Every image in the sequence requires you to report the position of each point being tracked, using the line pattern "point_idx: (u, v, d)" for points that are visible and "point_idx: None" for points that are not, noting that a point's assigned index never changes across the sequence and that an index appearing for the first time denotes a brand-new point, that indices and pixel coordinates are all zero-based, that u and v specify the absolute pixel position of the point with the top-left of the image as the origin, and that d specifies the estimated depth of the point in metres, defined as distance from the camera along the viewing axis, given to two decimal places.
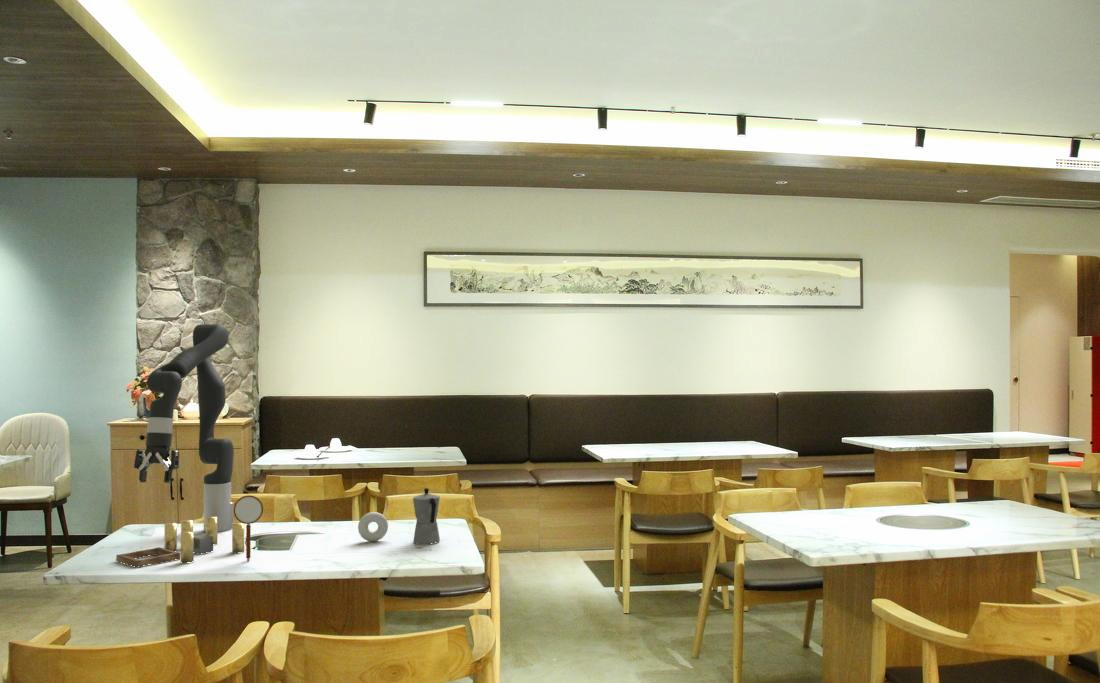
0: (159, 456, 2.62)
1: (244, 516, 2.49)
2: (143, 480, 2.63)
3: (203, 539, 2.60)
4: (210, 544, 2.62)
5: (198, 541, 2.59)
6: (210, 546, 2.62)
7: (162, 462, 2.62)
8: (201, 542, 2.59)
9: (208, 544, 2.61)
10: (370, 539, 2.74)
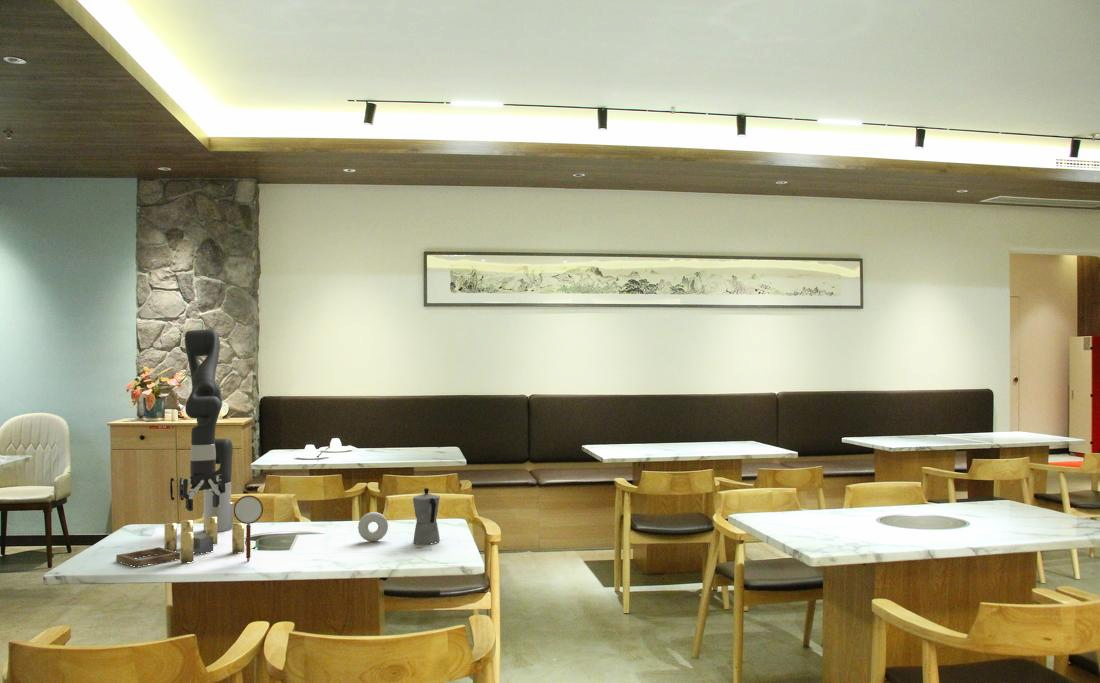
0: (211, 482, 2.63)
1: (244, 516, 2.49)
2: None
3: (203, 539, 2.60)
4: (210, 544, 2.62)
5: (198, 541, 2.59)
6: (210, 546, 2.62)
7: (215, 488, 2.64)
8: (202, 542, 2.59)
9: (208, 544, 2.61)
10: (370, 539, 2.74)
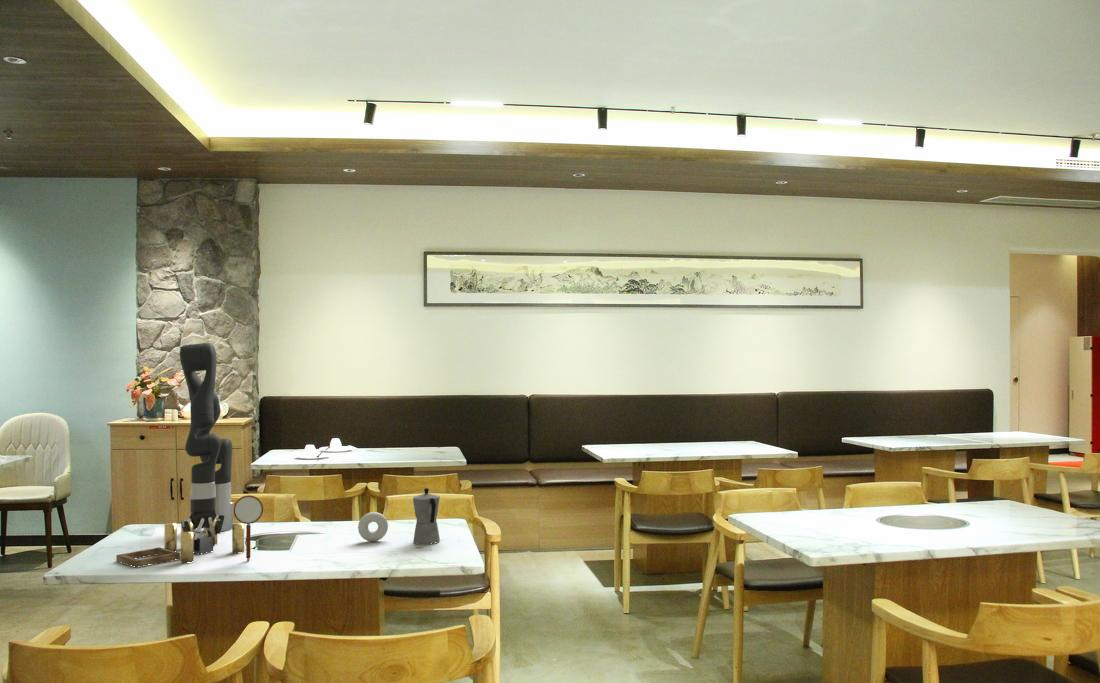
0: (211, 521, 2.62)
1: (244, 516, 2.49)
2: None
3: (203, 539, 2.60)
4: (210, 543, 2.62)
5: (198, 541, 2.59)
6: (210, 546, 2.62)
7: (212, 528, 2.63)
8: (202, 541, 2.59)
9: (208, 543, 2.61)
10: (370, 539, 2.74)
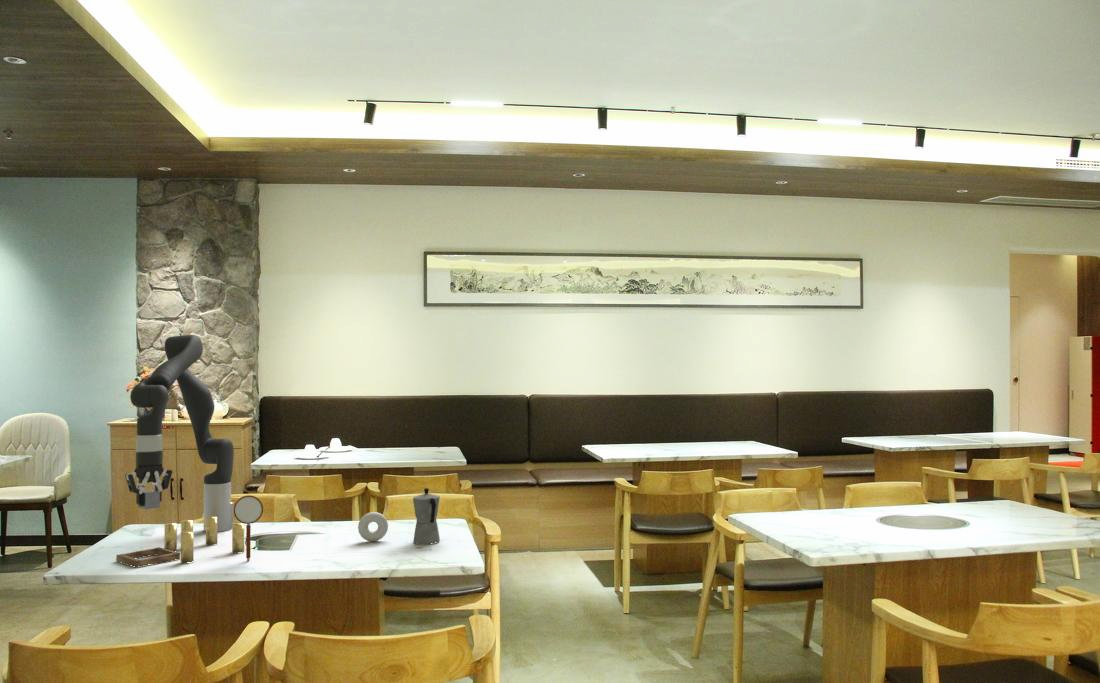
0: (157, 475, 2.52)
1: (244, 516, 2.49)
2: None
3: (149, 493, 2.50)
4: (157, 498, 2.51)
5: (144, 495, 2.49)
6: (156, 501, 2.51)
7: (158, 482, 2.53)
8: (147, 496, 2.49)
9: (155, 498, 2.51)
10: (370, 539, 2.74)
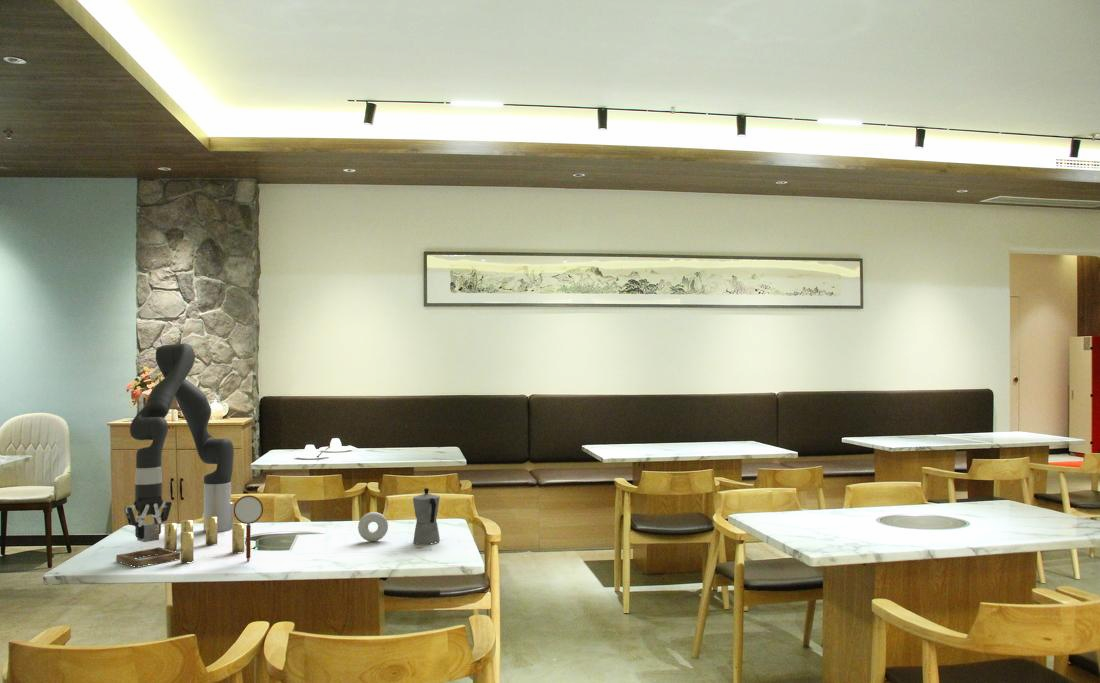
0: (156, 508, 2.52)
1: (244, 516, 2.49)
2: None
3: (148, 526, 2.49)
4: (156, 531, 2.51)
5: (143, 528, 2.49)
6: (155, 533, 2.51)
7: (158, 514, 2.52)
8: (146, 528, 2.49)
9: (154, 531, 2.50)
10: (370, 539, 2.74)
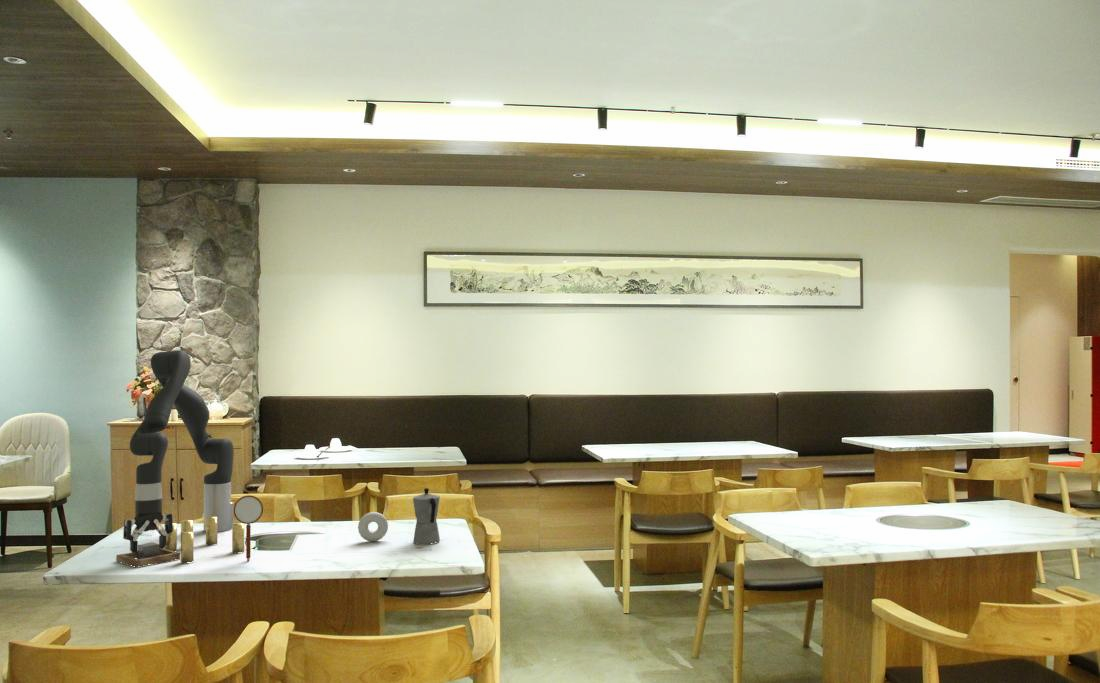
0: (158, 522, 2.52)
1: (244, 516, 2.49)
2: None
3: (148, 547, 2.49)
4: (156, 551, 2.51)
5: (143, 549, 2.49)
6: (156, 554, 2.51)
7: (161, 528, 2.53)
8: (147, 549, 2.49)
9: (154, 551, 2.50)
10: (370, 539, 2.74)
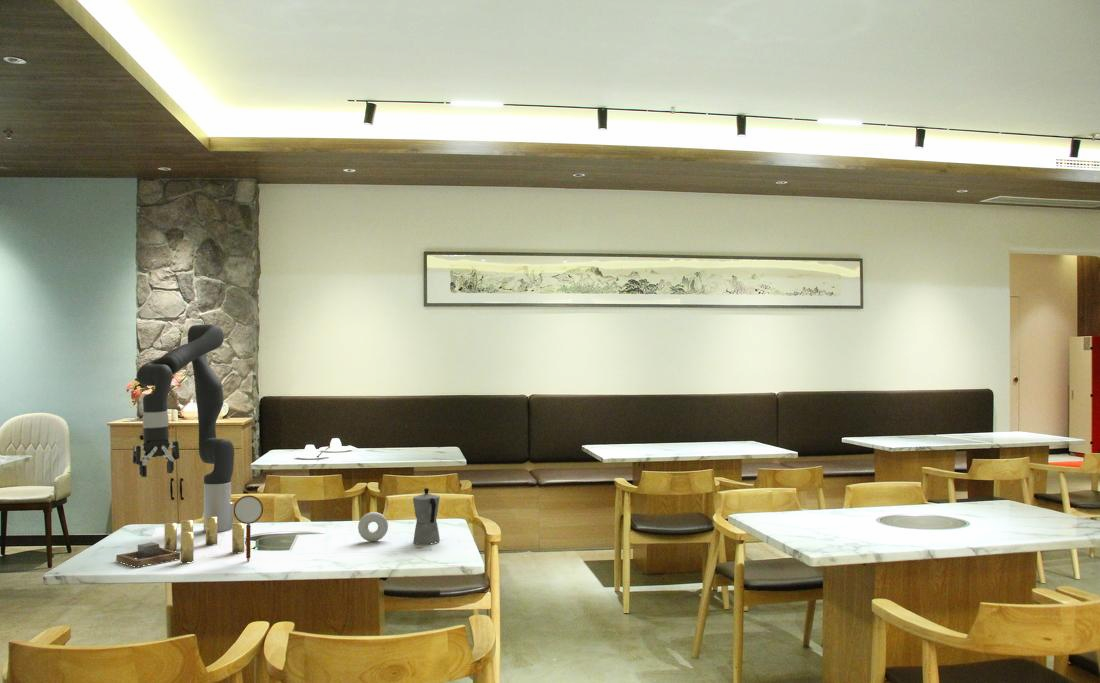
0: (165, 449, 2.67)
1: (244, 516, 2.49)
2: None
3: (148, 547, 2.49)
4: (156, 551, 2.51)
5: (143, 549, 2.49)
6: (156, 554, 2.51)
7: (168, 454, 2.68)
8: (147, 549, 2.49)
9: (154, 551, 2.50)
10: (370, 539, 2.74)
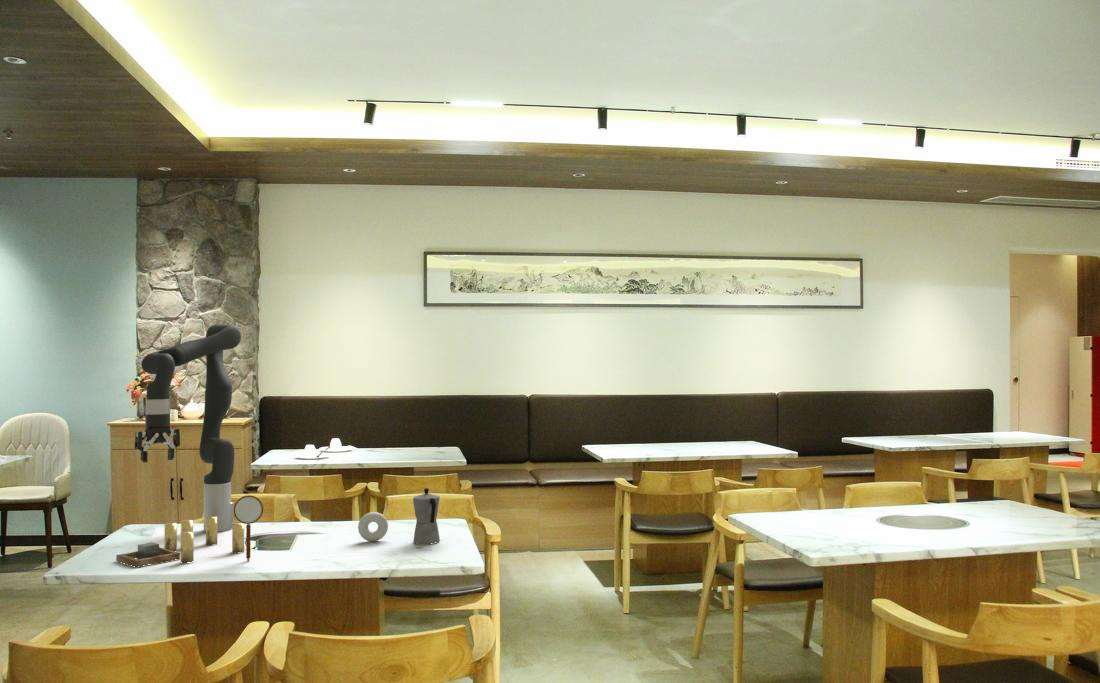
0: (166, 436, 2.74)
1: (244, 516, 2.49)
2: None
3: (148, 547, 2.49)
4: (156, 551, 2.51)
5: (143, 549, 2.49)
6: (156, 554, 2.51)
7: (169, 441, 2.75)
8: (147, 549, 2.49)
9: (154, 551, 2.50)
10: (370, 539, 2.74)
